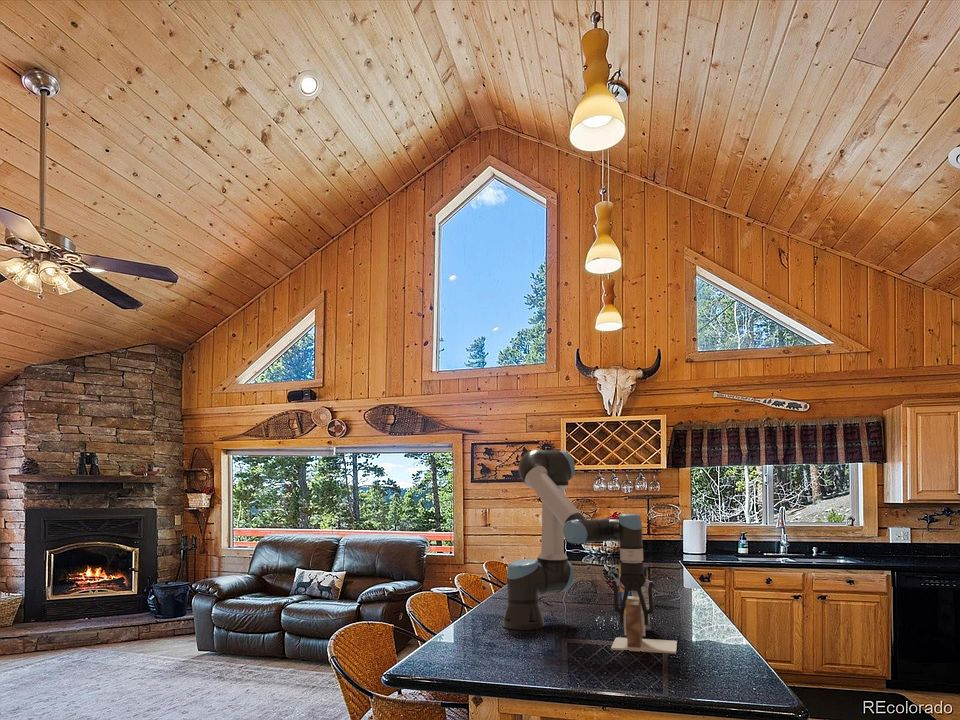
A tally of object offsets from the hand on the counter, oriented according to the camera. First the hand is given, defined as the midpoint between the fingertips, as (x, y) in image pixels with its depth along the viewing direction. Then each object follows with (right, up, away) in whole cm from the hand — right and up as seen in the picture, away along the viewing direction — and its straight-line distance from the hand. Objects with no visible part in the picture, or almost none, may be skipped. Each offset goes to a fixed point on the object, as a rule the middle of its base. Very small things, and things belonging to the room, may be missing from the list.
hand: (634, 634), depth 229 cm
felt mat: (+3, -3, -1) cm, 5 cm away
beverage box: (+6, -8, +26) cm, 28 cm away
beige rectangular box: (0, -3, 0) cm, 3 cm away
